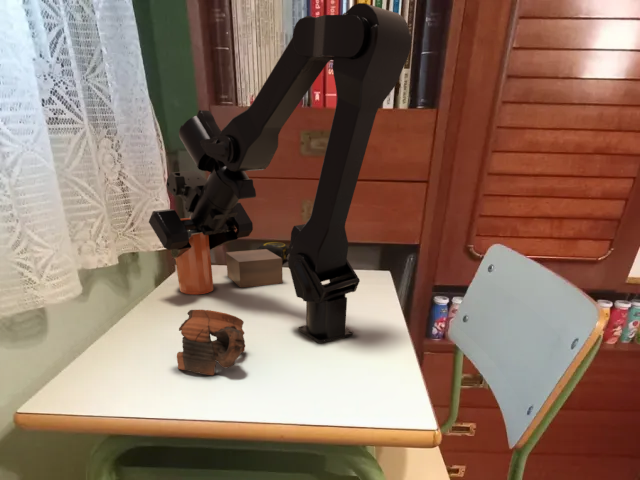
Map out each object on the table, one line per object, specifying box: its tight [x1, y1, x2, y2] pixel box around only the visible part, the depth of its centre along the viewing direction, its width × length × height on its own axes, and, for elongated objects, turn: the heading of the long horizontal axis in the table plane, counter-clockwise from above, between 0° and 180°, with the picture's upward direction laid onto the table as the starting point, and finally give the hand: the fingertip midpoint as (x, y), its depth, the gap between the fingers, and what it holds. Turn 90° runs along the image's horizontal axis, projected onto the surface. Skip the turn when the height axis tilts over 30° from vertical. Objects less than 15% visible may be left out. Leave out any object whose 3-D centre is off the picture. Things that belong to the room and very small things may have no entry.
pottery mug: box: [176, 309, 246, 376], centre depth 64 cm, size 12×9×8 cm
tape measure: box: [256, 241, 289, 262], centre depth 114 cm, size 7×7×4 cm
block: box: [225, 249, 283, 289], centre depth 99 cm, size 9×9×5 cm
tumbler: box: [174, 217, 214, 295], centre depth 91 cm, size 6×6×12 cm
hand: (188, 253), depth 91 cm, fingers closed on tumbler, 6 cm apart
